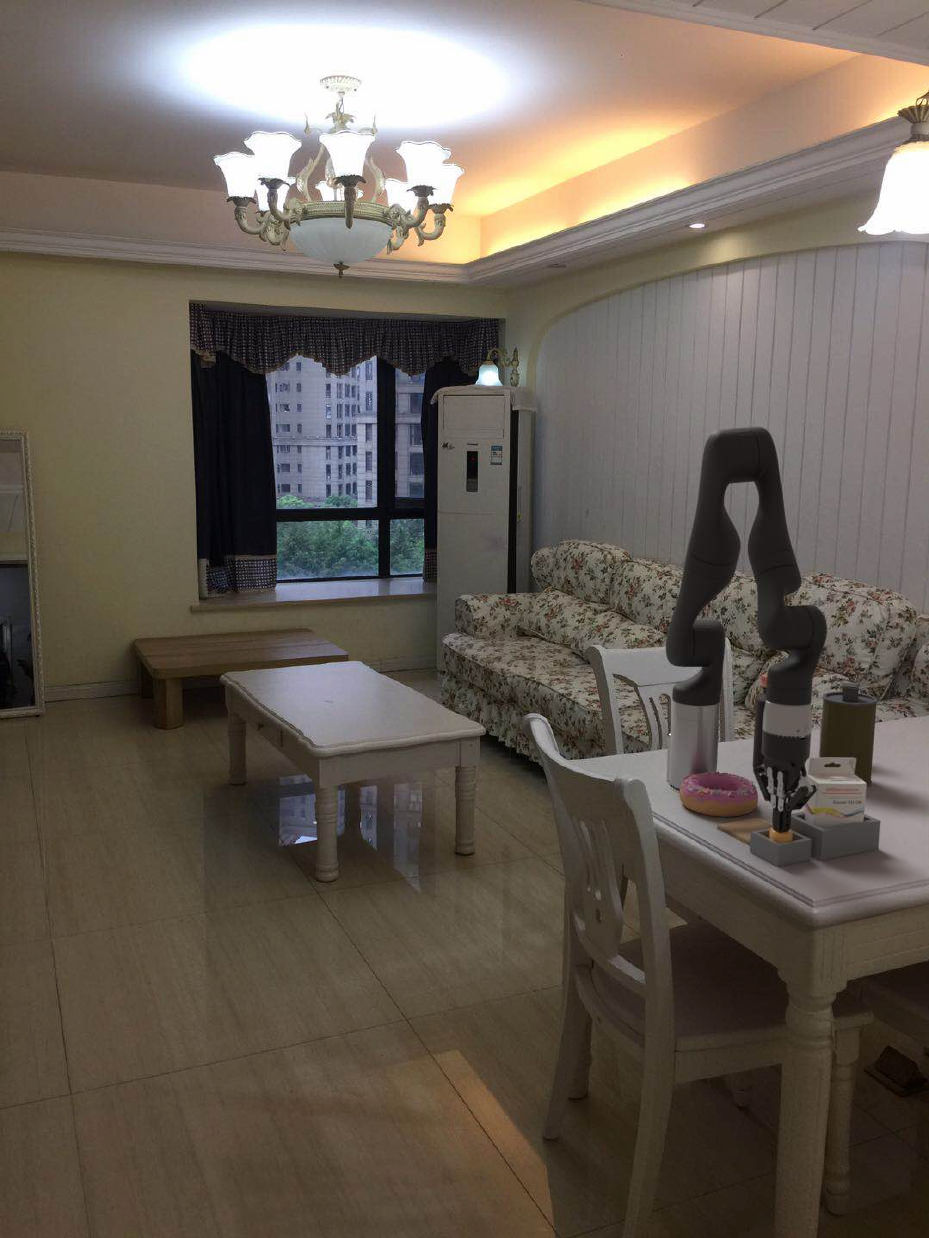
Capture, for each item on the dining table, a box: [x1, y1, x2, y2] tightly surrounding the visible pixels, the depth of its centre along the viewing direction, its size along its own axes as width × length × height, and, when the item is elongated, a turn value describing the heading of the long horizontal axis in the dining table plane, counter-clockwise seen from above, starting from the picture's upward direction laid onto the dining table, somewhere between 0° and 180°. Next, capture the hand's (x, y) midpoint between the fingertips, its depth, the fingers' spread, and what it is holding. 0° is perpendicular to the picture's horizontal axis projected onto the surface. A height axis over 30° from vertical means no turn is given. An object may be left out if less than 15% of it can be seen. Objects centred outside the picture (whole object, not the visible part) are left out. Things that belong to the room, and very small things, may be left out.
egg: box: [769, 827, 793, 843], centre depth 170 cm, size 4×4×4 cm
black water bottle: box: [752, 673, 767, 769], centre depth 215 cm, size 7×7×20 cm
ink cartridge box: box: [803, 757, 868, 828], centre depth 174 cm, size 9×5×15 cm, turn 93°
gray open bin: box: [790, 811, 881, 862], centre depth 174 cm, size 8×12×5 cm
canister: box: [819, 682, 879, 789], centre depth 208 cm, size 11×10×20 cm
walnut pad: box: [716, 817, 773, 846], centre depth 181 cm, size 9×9×1 cm
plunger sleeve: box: [749, 828, 812, 868], centre depth 170 cm, size 7×7×4 cm
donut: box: [679, 771, 759, 818], centre depth 194 cm, size 14×14×5 cm
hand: (781, 830), depth 170 cm, fingers closed
